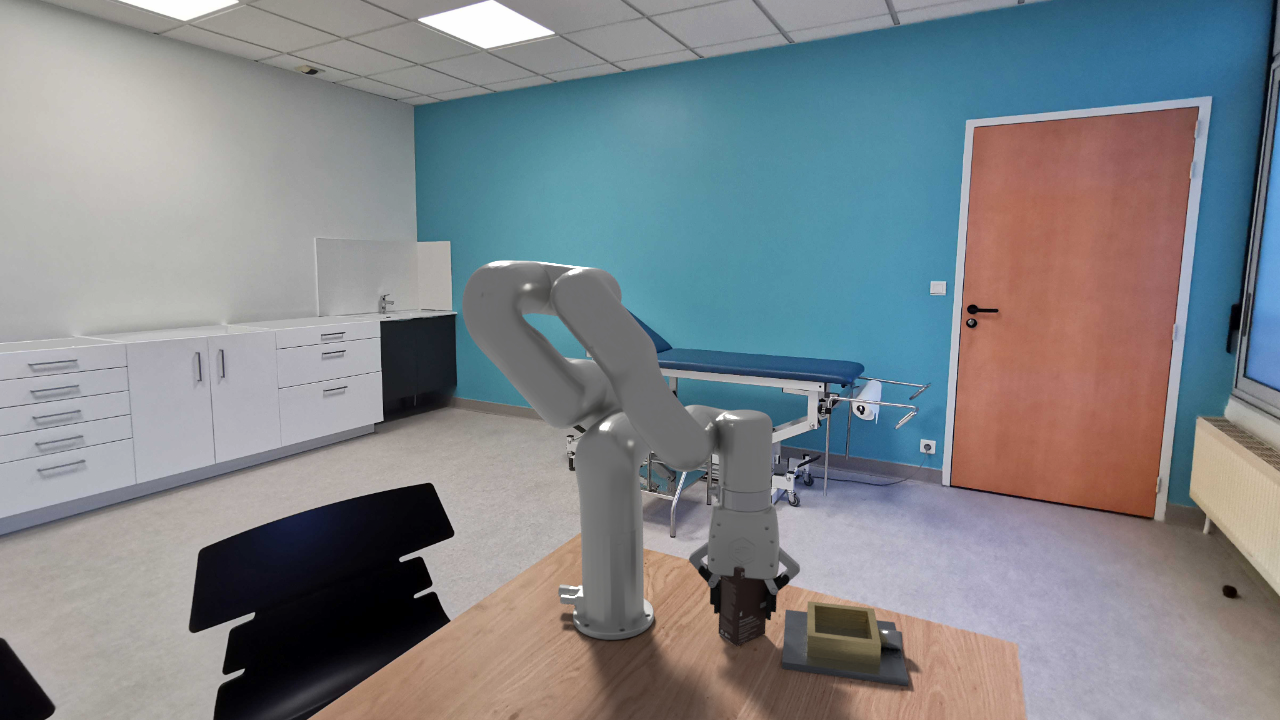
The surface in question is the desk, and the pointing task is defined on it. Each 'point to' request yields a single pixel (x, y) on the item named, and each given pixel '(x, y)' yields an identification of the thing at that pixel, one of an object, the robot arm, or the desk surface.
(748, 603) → the box
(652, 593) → the desk surface
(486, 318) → the robot arm
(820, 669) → the square socket base
